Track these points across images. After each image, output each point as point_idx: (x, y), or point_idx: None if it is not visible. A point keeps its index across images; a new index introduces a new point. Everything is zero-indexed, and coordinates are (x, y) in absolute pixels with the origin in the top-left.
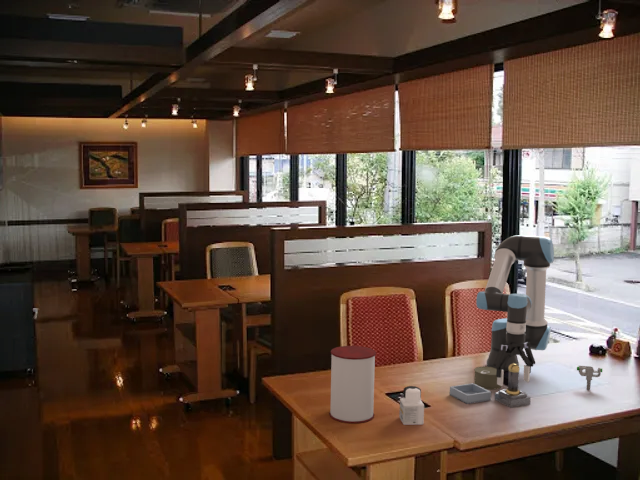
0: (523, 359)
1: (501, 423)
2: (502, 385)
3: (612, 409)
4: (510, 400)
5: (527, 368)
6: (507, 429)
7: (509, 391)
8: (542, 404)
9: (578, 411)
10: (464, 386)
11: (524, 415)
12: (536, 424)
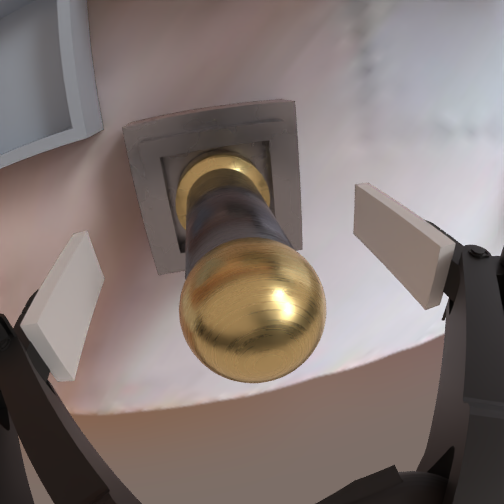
0: (458, 329)
1: None
2: (100, 281)
3: None
4: (157, 268)
5: (416, 286)
6: (75, 401)
7: (182, 223)
8: (344, 241)
9: (398, 320)
10: (3, 3)
11: (178, 336)
12: (180, 394)
